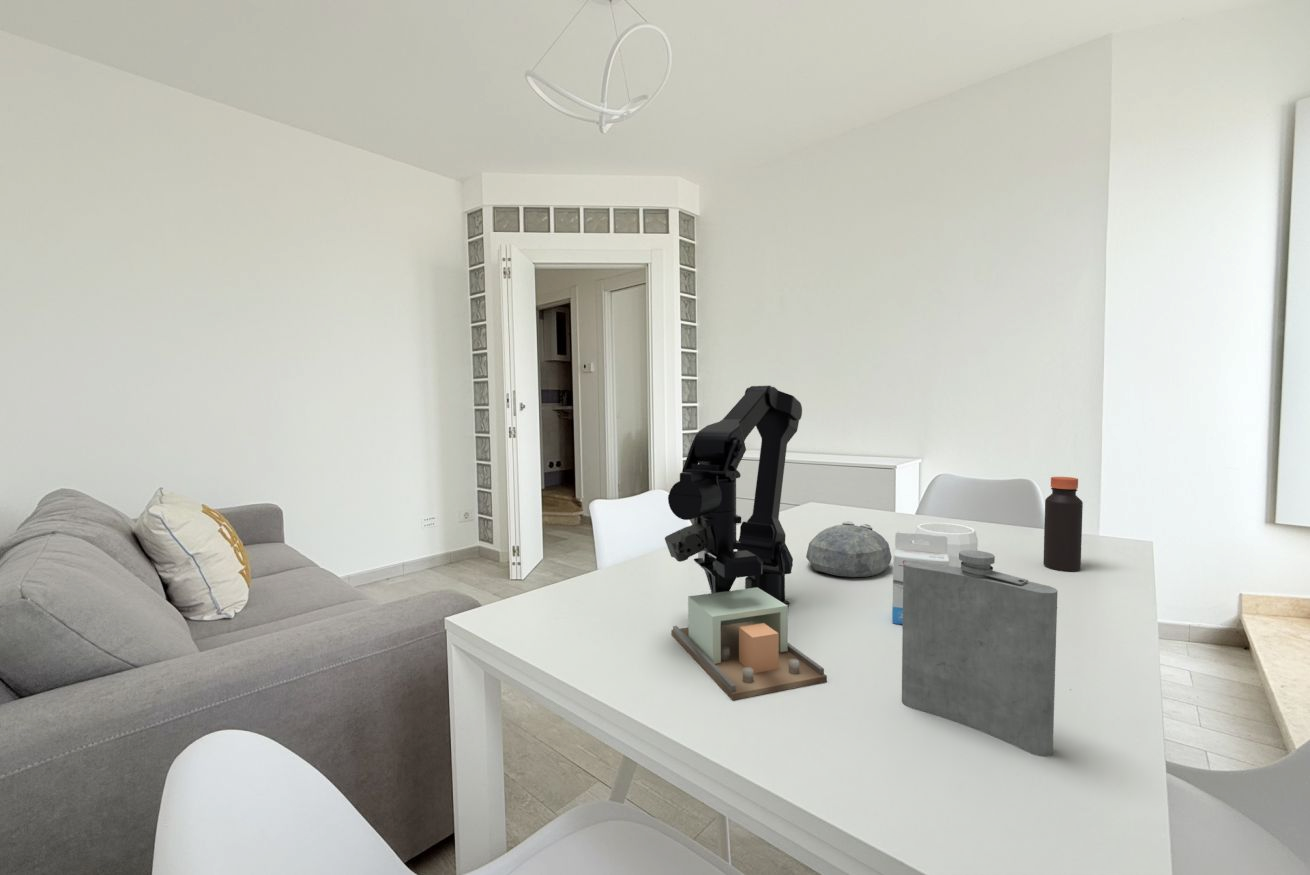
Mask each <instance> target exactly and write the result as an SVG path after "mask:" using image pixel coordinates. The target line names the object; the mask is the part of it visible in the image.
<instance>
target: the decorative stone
mask: <svg viewBox="0 0 1310 875" xmlns="http://www.w3.org/2000/svg"><path fill="white" fill-rule="evenodd" d="M805 558H806V559H807V560H808V562H809V564H810V565H811V567H812V568H813V569H814V570H815V571H817V572H821V573H825V574H828V575H829V574H830V575H832V576H837V577H846V578H847V577H849V578H865V577H871V576H877V575H879V574H882V573H883V572H885V571H886V570H887V568H888V567H889V565H890V564H891V561H892V554H891V549H890V544H889V542H888V541H887V540H886V539H885V538H884V537H883V535H881V534H879V532H877V531H875V530H873V527H872V526H871V525H869V524H865V523H862V524H861V525H856V524H855V523H854V522H852V521H846V520H845V521H843V522H842V523H841V524H836V525H833V526H830V527H827V528H825V529H823V530H821V531H819V532H818V533H817V535H815V536H814V537H813V538H812V539H811V540H810V542H809V543H808V546H807V551H806V555H805Z"/></svg>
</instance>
